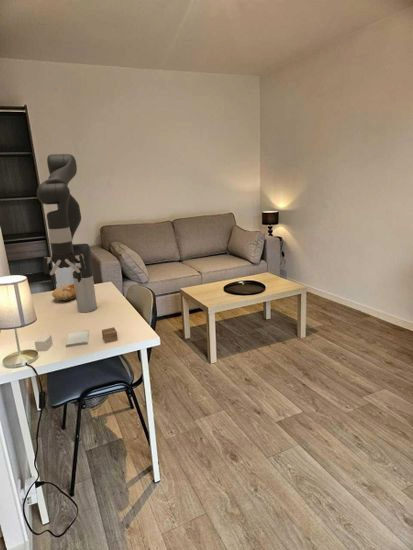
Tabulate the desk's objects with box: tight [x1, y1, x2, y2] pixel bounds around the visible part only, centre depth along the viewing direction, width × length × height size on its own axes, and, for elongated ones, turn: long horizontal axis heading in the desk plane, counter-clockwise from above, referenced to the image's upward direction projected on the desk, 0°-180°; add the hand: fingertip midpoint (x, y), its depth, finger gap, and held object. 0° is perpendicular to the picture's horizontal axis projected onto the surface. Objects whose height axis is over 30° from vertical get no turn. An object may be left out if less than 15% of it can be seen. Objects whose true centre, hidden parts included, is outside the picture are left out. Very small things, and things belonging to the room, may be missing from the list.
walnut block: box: [101, 326, 119, 344], centre depth 146 cm, size 5×5×4 cm
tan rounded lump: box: [51, 283, 76, 302], centre depth 200 cm, size 8×22×15 cm
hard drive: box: [65, 329, 90, 348], centre depth 148 cm, size 2×8×12 cm
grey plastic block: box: [34, 334, 54, 352], centre depth 142 cm, size 6×4×4 cm, turn 2°
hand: (67, 282), depth 136 cm, fingers open, 8 cm apart
